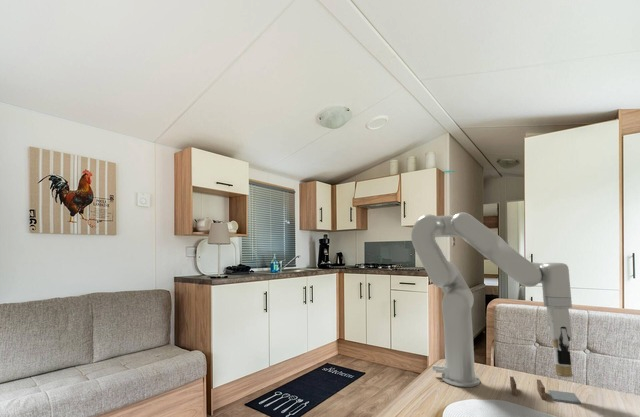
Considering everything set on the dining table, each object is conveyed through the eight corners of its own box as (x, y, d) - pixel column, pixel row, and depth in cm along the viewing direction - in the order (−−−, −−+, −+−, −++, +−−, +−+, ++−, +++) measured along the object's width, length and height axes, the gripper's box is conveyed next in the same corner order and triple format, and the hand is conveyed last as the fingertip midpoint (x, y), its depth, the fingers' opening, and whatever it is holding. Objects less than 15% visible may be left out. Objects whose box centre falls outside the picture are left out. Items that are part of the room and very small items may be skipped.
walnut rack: (513, 395, 113) (512, 383, 113) (510, 387, 119) (509, 376, 120) (545, 399, 110) (544, 387, 110) (540, 390, 116) (540, 379, 117)
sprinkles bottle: (575, 375, 111) (571, 331, 112) (568, 379, 108) (564, 333, 110) (559, 371, 115) (555, 328, 116) (552, 374, 112) (548, 330, 114)
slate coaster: (553, 400, 109) (553, 398, 109) (548, 391, 116) (548, 389, 116) (581, 404, 106) (580, 402, 107) (574, 395, 113) (574, 393, 113)
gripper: (538, 297, 123) (542, 352, 121) (549, 305, 107) (555, 369, 105) (564, 298, 120) (569, 354, 118) (579, 306, 105) (585, 371, 103)
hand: (562, 360), depth 112 cm, fingers closed on sprinkles bottle, 4 cm apart
